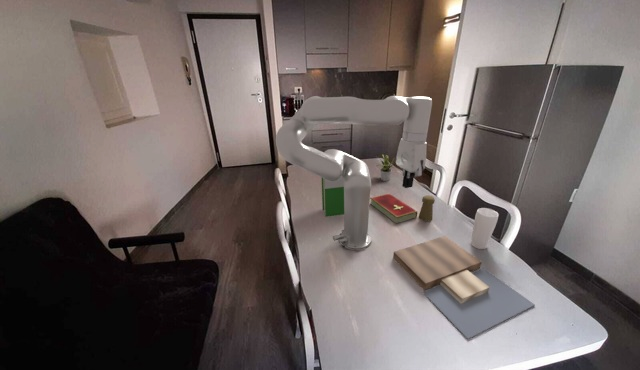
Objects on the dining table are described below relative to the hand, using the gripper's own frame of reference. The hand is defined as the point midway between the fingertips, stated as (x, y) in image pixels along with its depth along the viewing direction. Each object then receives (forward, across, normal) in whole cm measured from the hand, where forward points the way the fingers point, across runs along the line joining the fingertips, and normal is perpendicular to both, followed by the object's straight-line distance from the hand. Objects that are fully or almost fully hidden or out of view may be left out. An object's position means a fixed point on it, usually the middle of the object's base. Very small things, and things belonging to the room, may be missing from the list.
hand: (407, 186), depth 89 cm
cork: (+25, -11, +22) cm, 35 cm away
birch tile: (+24, +27, +4) cm, 36 cm away
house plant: (+25, -58, +30) cm, 70 cm away
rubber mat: (+24, +31, +5) cm, 40 cm away
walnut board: (+25, +15, +4) cm, 29 cm away
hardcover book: (+26, -22, +12) cm, 36 cm away
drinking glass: (+25, +13, +27) cm, 39 cm away
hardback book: (+26, -32, -11) cm, 42 cm away
